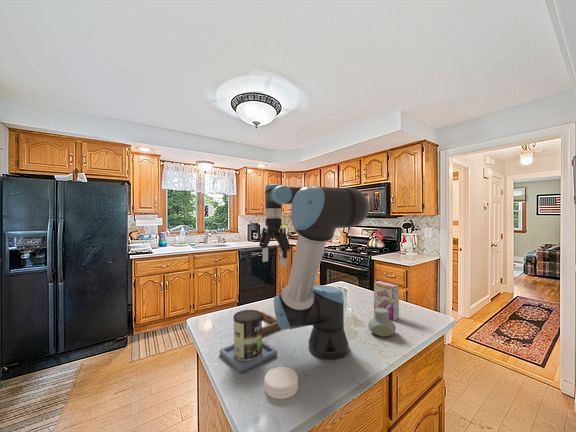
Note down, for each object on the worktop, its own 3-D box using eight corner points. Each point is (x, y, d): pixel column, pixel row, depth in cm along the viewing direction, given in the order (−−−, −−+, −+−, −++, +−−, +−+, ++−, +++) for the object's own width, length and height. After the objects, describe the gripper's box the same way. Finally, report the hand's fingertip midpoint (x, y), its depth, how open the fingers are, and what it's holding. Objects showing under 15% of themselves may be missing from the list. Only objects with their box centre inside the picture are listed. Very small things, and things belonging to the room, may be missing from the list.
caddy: (282, 327, 112) (282, 321, 112) (254, 338, 102) (254, 331, 102) (262, 317, 124) (262, 311, 124) (236, 327, 114) (236, 320, 114)
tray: (277, 355, 90) (277, 350, 90) (241, 373, 80) (241, 367, 80) (253, 340, 101) (253, 335, 101) (219, 354, 91) (219, 349, 91)
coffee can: (265, 347, 94) (265, 310, 94) (257, 362, 84) (256, 321, 84) (240, 344, 96) (240, 308, 96) (229, 359, 86) (228, 319, 86)
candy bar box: (373, 314, 126) (373, 282, 126) (379, 311, 129) (379, 280, 129) (393, 321, 117) (393, 287, 117) (399, 319, 120) (399, 285, 120)
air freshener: (368, 336, 104) (368, 312, 104) (368, 327, 112) (368, 305, 111) (396, 339, 100) (396, 315, 100) (394, 330, 108) (394, 307, 108)
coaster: (260, 398, 69) (260, 386, 69) (268, 375, 79) (268, 364, 79) (296, 402, 68) (295, 389, 68) (300, 378, 78) (299, 367, 78)
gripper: (298, 217, 109) (298, 265, 109) (264, 217, 127) (264, 258, 127) (285, 217, 104) (285, 268, 104) (251, 217, 122) (252, 260, 122)
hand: (274, 263), depth 115 cm, fingers open, 13 cm apart
